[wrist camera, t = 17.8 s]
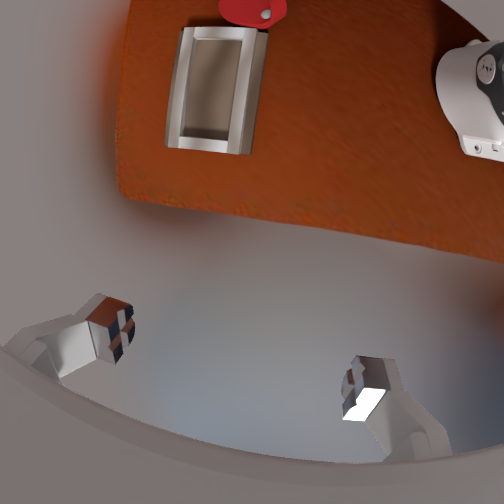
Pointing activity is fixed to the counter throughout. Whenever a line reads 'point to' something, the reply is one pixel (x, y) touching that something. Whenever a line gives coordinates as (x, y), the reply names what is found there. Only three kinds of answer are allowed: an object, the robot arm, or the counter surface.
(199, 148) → the grey rectangular tray
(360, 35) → the counter surface
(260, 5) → the tracker holder
